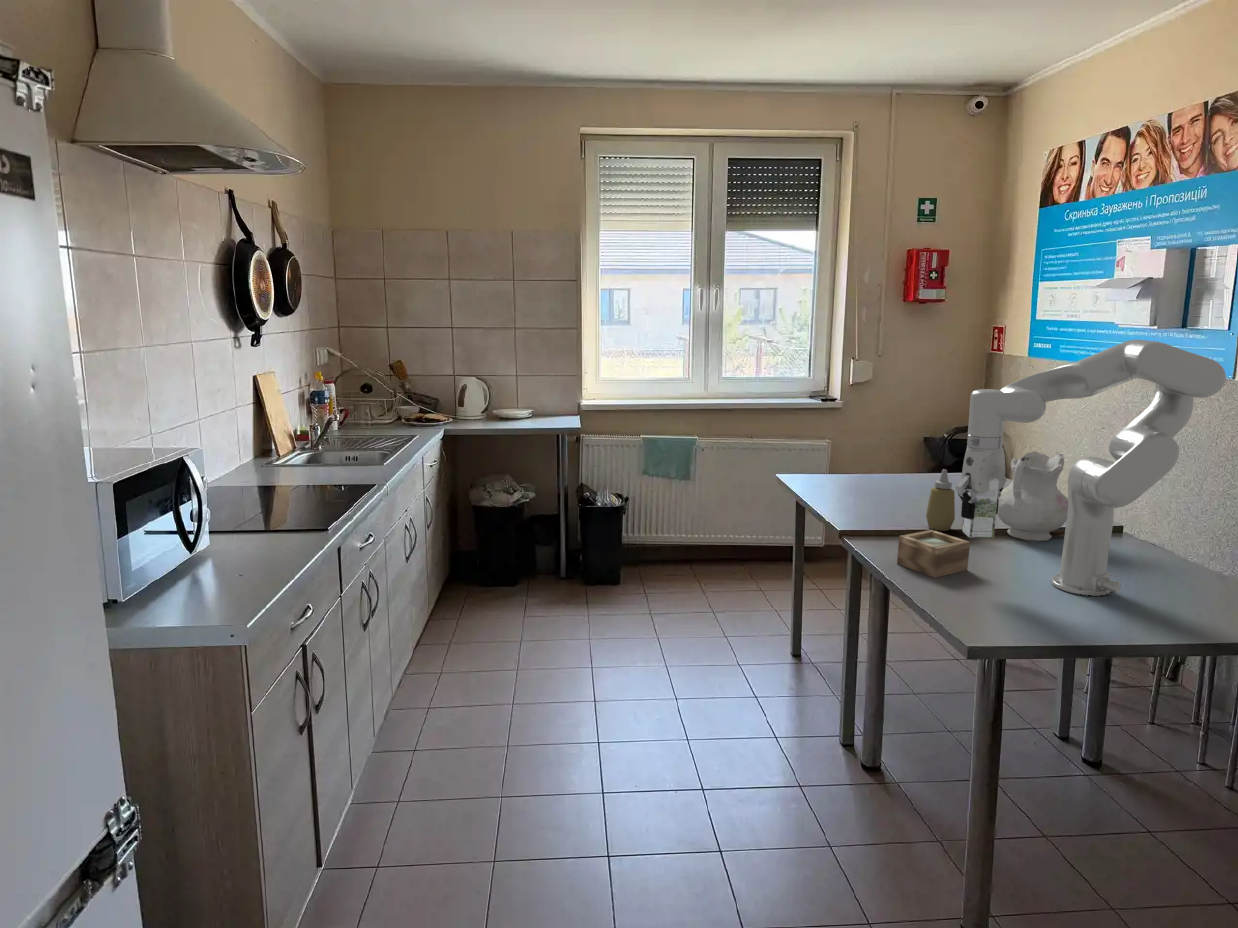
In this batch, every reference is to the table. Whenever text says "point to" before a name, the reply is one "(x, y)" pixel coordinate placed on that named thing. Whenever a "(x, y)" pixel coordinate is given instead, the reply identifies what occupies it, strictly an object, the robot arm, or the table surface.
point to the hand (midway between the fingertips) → (979, 515)
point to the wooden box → (933, 553)
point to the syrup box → (983, 513)
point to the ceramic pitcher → (1034, 497)
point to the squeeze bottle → (941, 504)
